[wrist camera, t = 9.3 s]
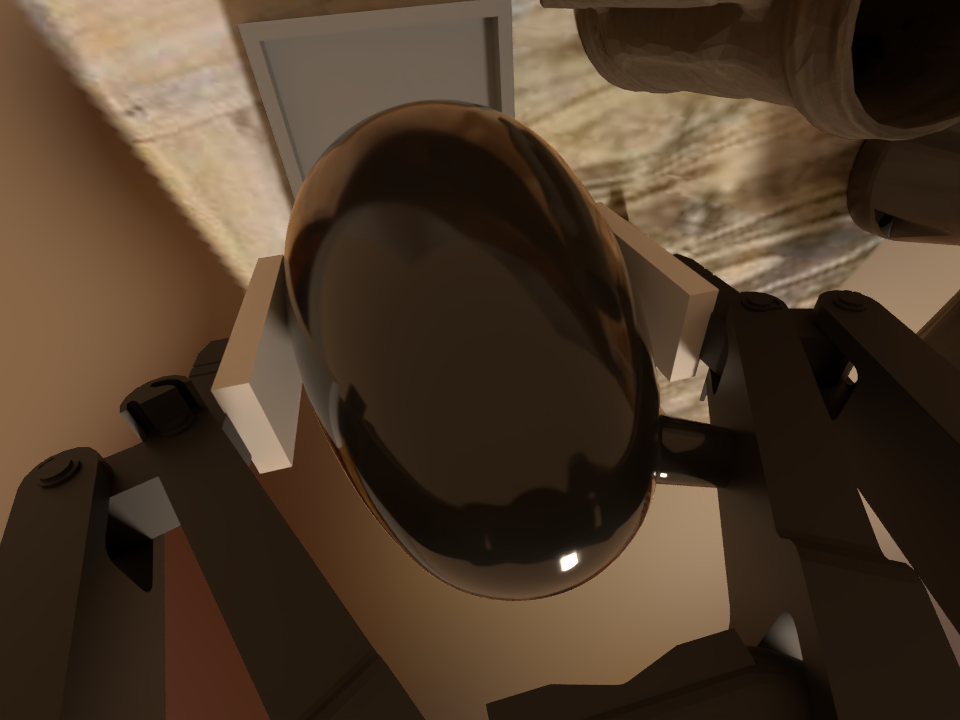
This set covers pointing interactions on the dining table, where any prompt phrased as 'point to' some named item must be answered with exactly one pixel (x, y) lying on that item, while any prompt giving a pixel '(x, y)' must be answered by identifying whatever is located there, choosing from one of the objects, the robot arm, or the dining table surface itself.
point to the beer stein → (789, 56)
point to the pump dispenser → (481, 352)
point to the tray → (375, 68)
